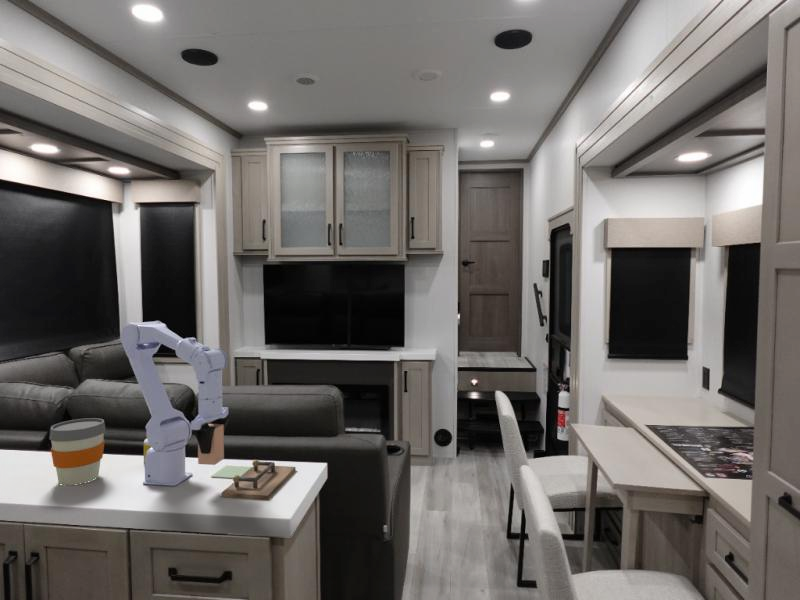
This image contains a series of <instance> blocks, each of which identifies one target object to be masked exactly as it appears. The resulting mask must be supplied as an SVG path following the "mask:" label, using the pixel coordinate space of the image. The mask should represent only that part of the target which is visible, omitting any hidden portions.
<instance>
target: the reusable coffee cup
mask: <svg viewBox="0 0 800 600" xmlns="http://www.w3.org/2000/svg"><path fill="white" fill-rule="evenodd" d="M105 433H106V424H105V420H104V419H102V418H98V417H97V418H96V417H93V418H91V417H90V418H89V417H88V418H86V417H85V418H78V419H72V420H67V421H61V422H59V423H56V424H53V425H51V427H50V430H49V437H48V438H49V441H51V448H50V452H51V458H52V463H53V467H55V469H56V475H57V482H58V484H59V485H60V484H62V485H74V486H76V485H75V484H80V483H84V484H86V483H85V482H88V481H90V482H92V481H91V480H93V479H95V478H96V479H97V478H99V474H100V468H101V460H102V459H103V455H104V449H105V442H106V441H105V439H104V435H105ZM96 479H95V480H96ZM93 481H94V480H93ZM88 483H89V482H88ZM62 485H61V486H62ZM80 485H81V484H80Z"/></svg>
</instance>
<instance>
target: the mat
mask: <svg viewBox="0 0 800 600" xmlns="http://www.w3.org/2000/svg"><path fill="white" fill-rule="evenodd" d="M252 467H253V466H241V465H240V466H239V465H225V466H223V467H222V468H221V469H219V470H218V471H217V472H215V473H214V474H212V475H211V476H210V477H211V478H214V479H215V478H216V479H217V478H218V479H231V480H233V477H234V476H235V475H239V476H240V477H241V476H242V475H244V474H245V473H246V472H247V471H248V470H250V469H251V468H252Z"/></svg>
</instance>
